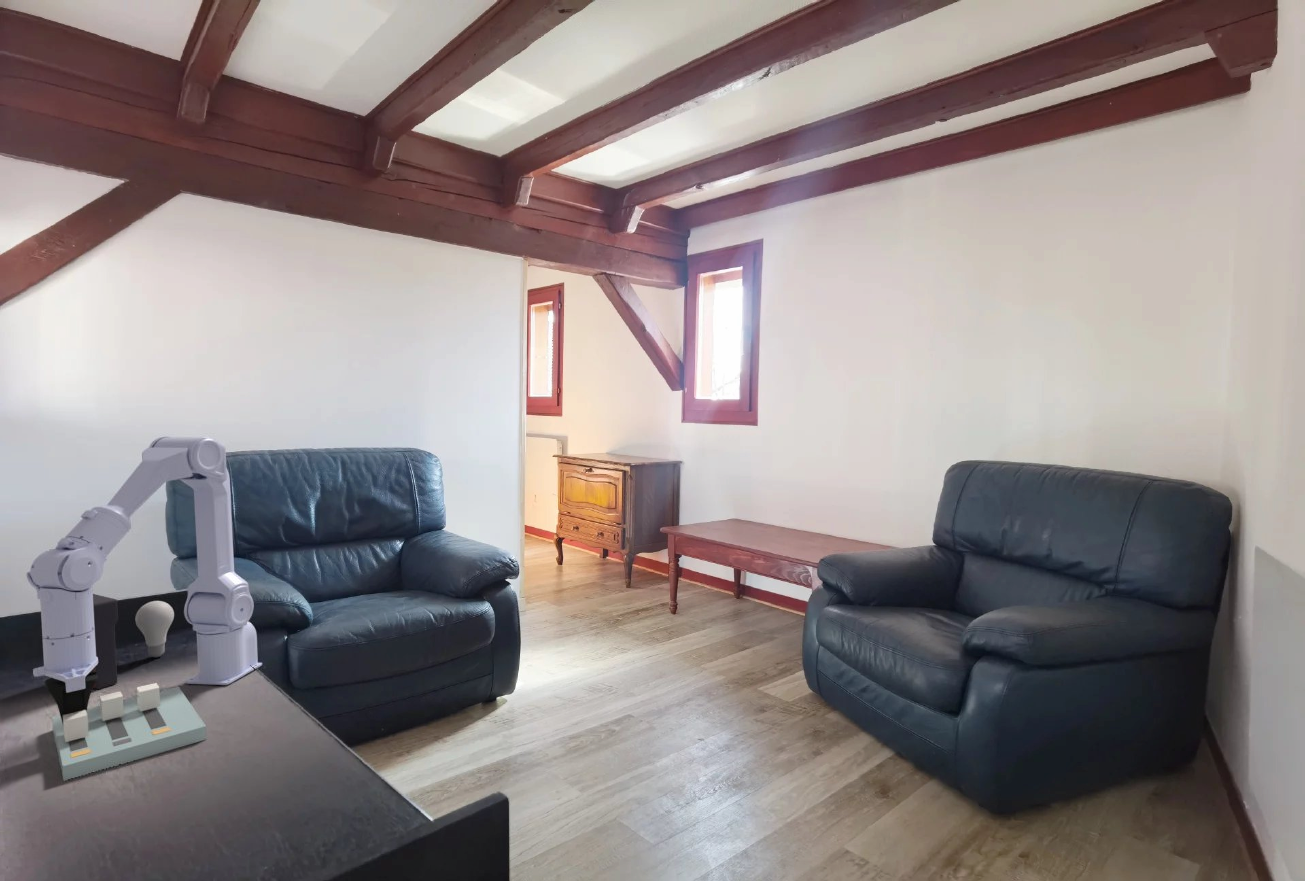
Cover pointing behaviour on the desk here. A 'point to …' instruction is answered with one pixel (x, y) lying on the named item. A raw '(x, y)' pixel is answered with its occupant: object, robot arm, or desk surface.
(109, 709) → the tab
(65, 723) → the tab
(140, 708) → the tab
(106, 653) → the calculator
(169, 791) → the desk surface
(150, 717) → the switch board
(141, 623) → the lightbulb
